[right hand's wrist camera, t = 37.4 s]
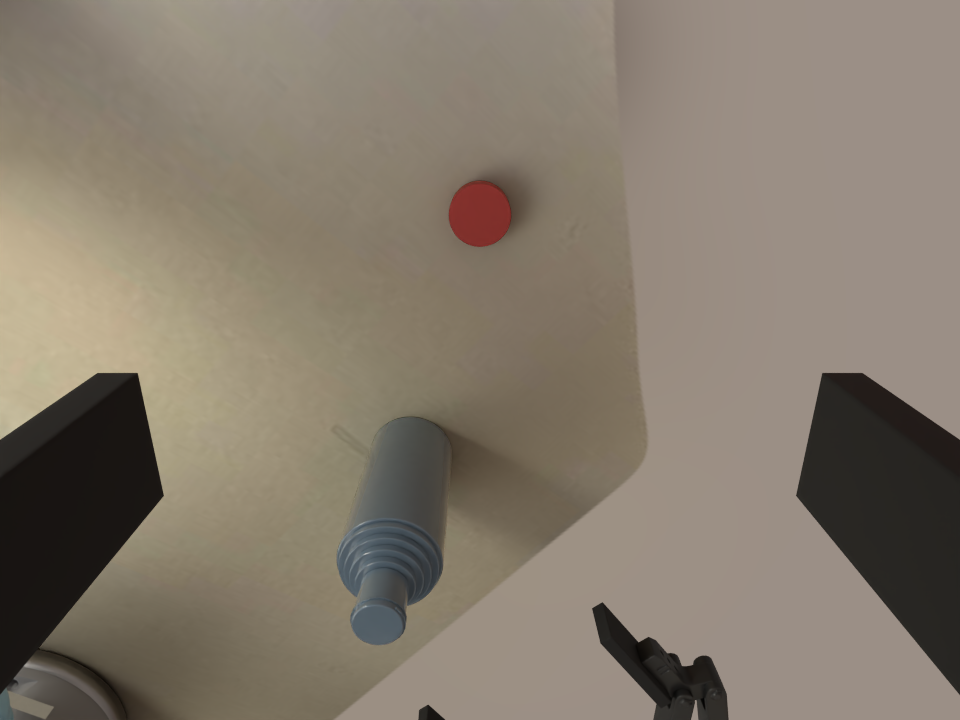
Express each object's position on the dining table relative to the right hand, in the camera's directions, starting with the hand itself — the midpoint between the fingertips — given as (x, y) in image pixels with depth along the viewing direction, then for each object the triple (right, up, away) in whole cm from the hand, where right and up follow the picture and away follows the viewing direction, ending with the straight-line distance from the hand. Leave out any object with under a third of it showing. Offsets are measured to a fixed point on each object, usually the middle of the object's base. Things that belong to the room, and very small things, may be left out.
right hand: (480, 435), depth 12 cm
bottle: (-5, -5, +34) cm, 35 cm away
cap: (0, +10, +27) cm, 29 cm away
